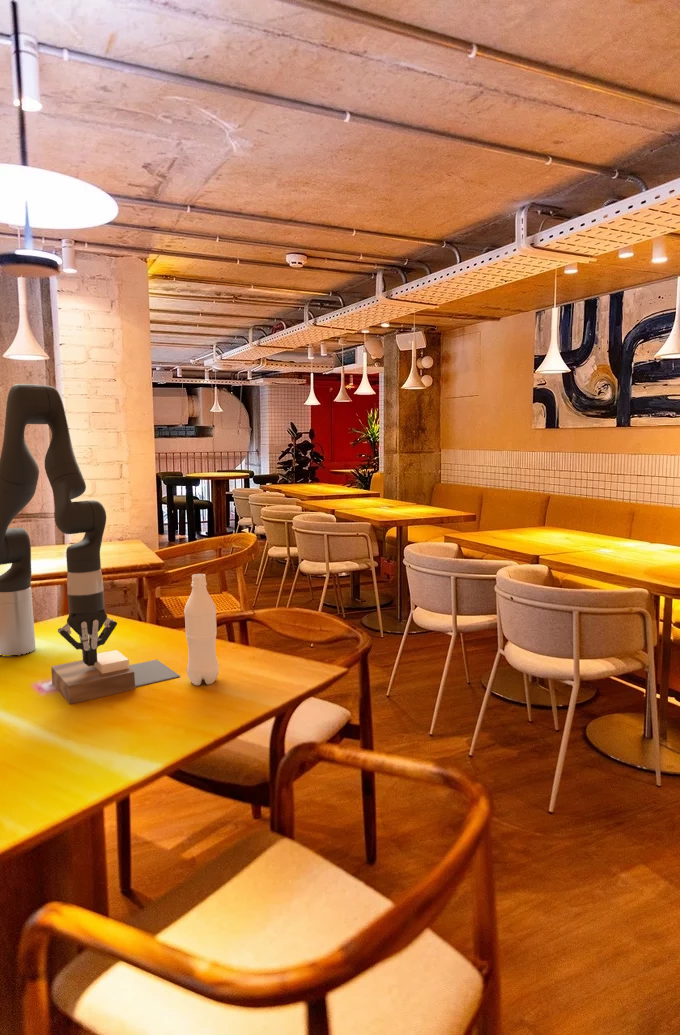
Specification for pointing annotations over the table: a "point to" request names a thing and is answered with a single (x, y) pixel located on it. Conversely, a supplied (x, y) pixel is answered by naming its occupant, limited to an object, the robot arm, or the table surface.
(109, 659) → the white flat block
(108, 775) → the table surface
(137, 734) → the table surface
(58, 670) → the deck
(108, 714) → the table surface
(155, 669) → the mat
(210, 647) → the water bottle
